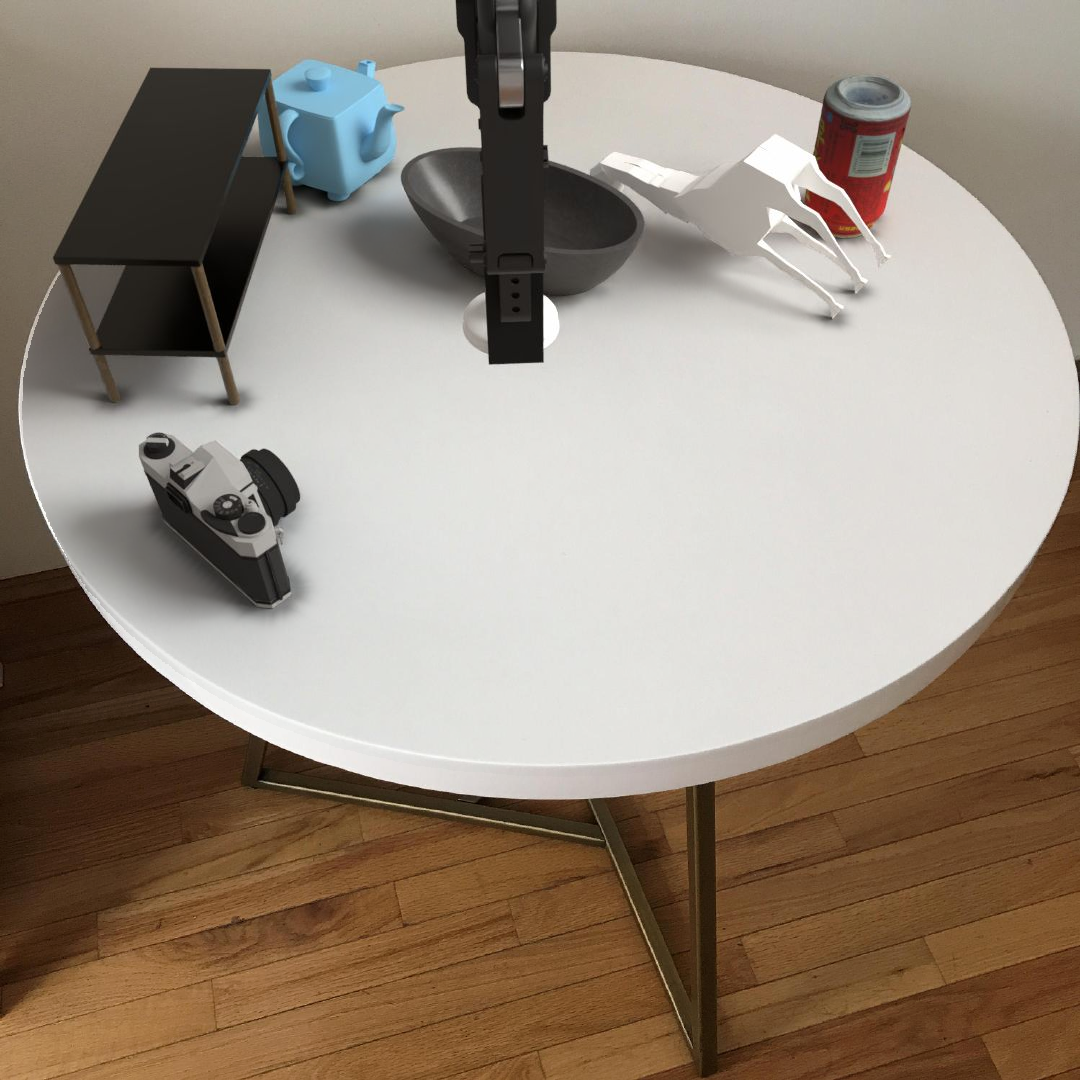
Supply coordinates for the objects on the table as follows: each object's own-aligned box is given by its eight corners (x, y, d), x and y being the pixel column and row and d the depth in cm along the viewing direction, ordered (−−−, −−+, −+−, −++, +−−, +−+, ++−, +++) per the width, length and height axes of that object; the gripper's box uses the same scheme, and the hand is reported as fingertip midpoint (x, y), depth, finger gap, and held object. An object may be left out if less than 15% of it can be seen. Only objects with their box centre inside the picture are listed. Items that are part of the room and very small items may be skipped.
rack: (238, 405, 88) (198, 260, 78) (109, 402, 88) (52, 257, 78) (297, 209, 105) (270, 68, 95) (188, 207, 105) (150, 67, 95)
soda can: (896, 232, 102) (931, 102, 93) (825, 249, 100) (853, 118, 91) (855, 190, 106) (884, 61, 97) (787, 206, 105) (809, 77, 96)
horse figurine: (805, 352, 105) (600, 174, 107) (909, 235, 91) (671, 32, 93) (778, 382, 102) (568, 199, 104) (880, 266, 88) (636, 56, 90)
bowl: (600, 341, 93) (603, 278, 88) (376, 259, 100) (367, 196, 95) (667, 262, 99) (673, 199, 95) (452, 190, 107) (448, 128, 102)
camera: (356, 553, 79) (332, 454, 72) (267, 622, 75) (233, 524, 68) (237, 473, 85) (205, 375, 78) (150, 532, 81) (108, 435, 75)
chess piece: (443, 322, 59) (429, 145, 52) (517, 284, 61) (514, 108, 54) (503, 371, 57) (498, 193, 49) (579, 330, 59) (585, 152, 51)
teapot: (217, 180, 108) (192, 77, 100) (311, 112, 116) (294, 12, 108) (373, 237, 102) (358, 132, 94) (460, 162, 110) (454, 59, 102)
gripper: (630, -98, 35) (602, 443, 53) (585, -275, 47) (575, 218, 65) (384, -92, 35) (439, 450, 53) (401, -271, 47) (441, 222, 65)
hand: (513, 321), depth 59 cm, fingers closed on chess piece, 5 cm apart
